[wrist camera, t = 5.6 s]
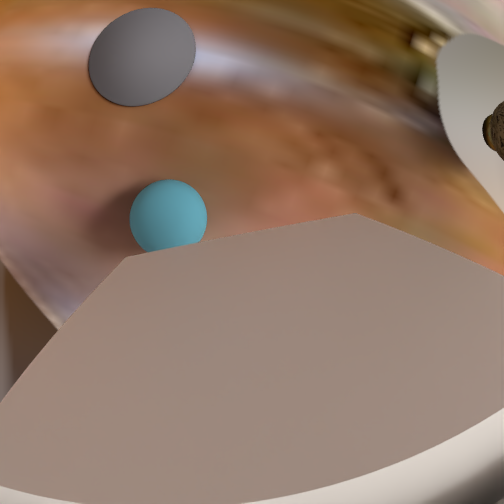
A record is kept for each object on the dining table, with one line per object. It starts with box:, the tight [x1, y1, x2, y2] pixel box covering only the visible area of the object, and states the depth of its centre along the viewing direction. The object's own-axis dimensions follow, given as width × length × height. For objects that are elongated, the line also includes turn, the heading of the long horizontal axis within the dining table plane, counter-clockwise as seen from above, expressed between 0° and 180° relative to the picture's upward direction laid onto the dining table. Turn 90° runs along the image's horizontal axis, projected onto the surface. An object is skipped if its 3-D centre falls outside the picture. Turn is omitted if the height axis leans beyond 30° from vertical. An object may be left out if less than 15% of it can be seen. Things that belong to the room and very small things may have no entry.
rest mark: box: [89, 8, 196, 106], centre depth 19 cm, size 8×8×1 cm
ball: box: [130, 180, 207, 252], centre depth 20 cm, size 5×5×5 cm
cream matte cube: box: [0, 213, 504, 504], centre depth 7 cm, size 8×8×9 cm
